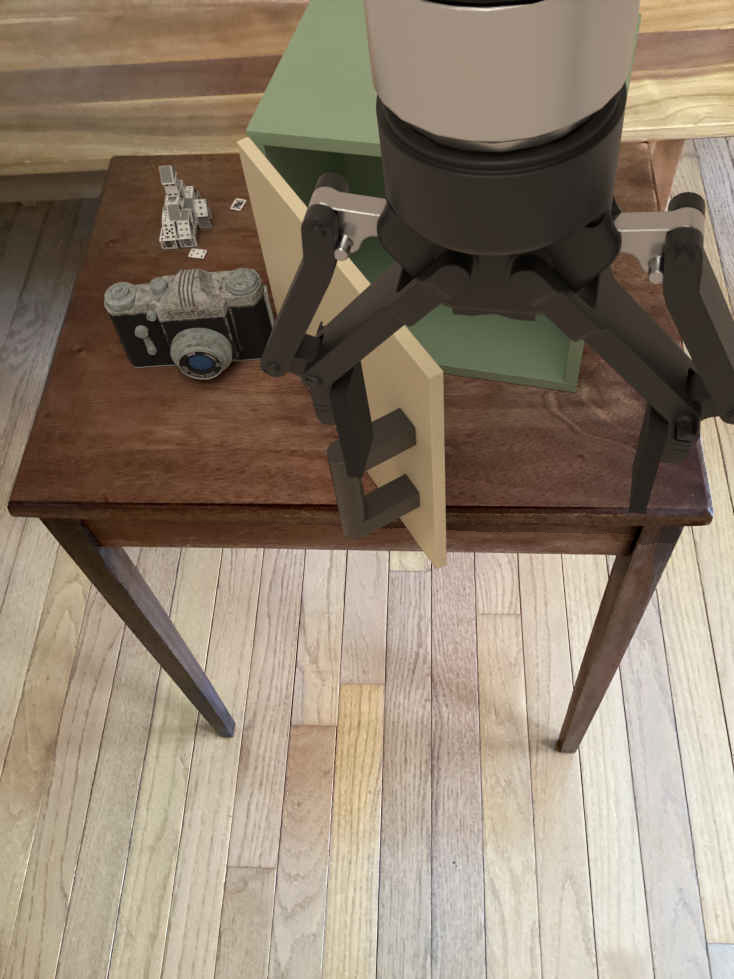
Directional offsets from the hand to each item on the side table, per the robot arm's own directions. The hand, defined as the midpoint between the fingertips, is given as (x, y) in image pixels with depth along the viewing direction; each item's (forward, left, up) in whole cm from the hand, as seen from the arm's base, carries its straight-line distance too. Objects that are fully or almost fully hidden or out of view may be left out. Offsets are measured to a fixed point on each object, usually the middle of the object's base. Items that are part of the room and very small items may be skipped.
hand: (495, 472), depth 45 cm
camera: (+40, -6, -28) cm, 49 cm away
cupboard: (+27, -27, -28) cm, 48 cm away
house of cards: (+54, -18, -28) cm, 64 cm away
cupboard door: (+22, -6, -28) cm, 36 cm away
